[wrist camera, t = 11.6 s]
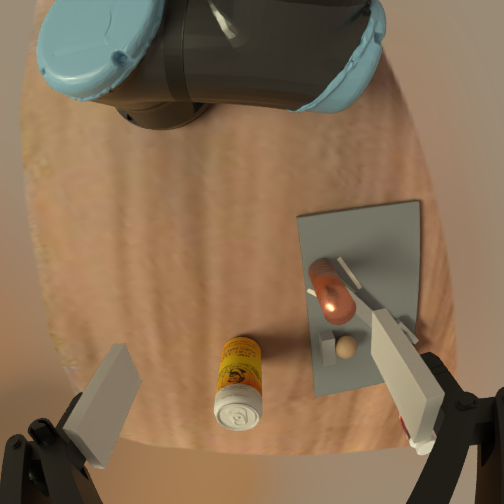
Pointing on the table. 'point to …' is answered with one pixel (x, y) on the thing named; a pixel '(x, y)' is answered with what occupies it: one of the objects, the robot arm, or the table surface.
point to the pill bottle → (421, 446)
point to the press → (360, 284)
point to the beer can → (239, 385)
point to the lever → (341, 298)
